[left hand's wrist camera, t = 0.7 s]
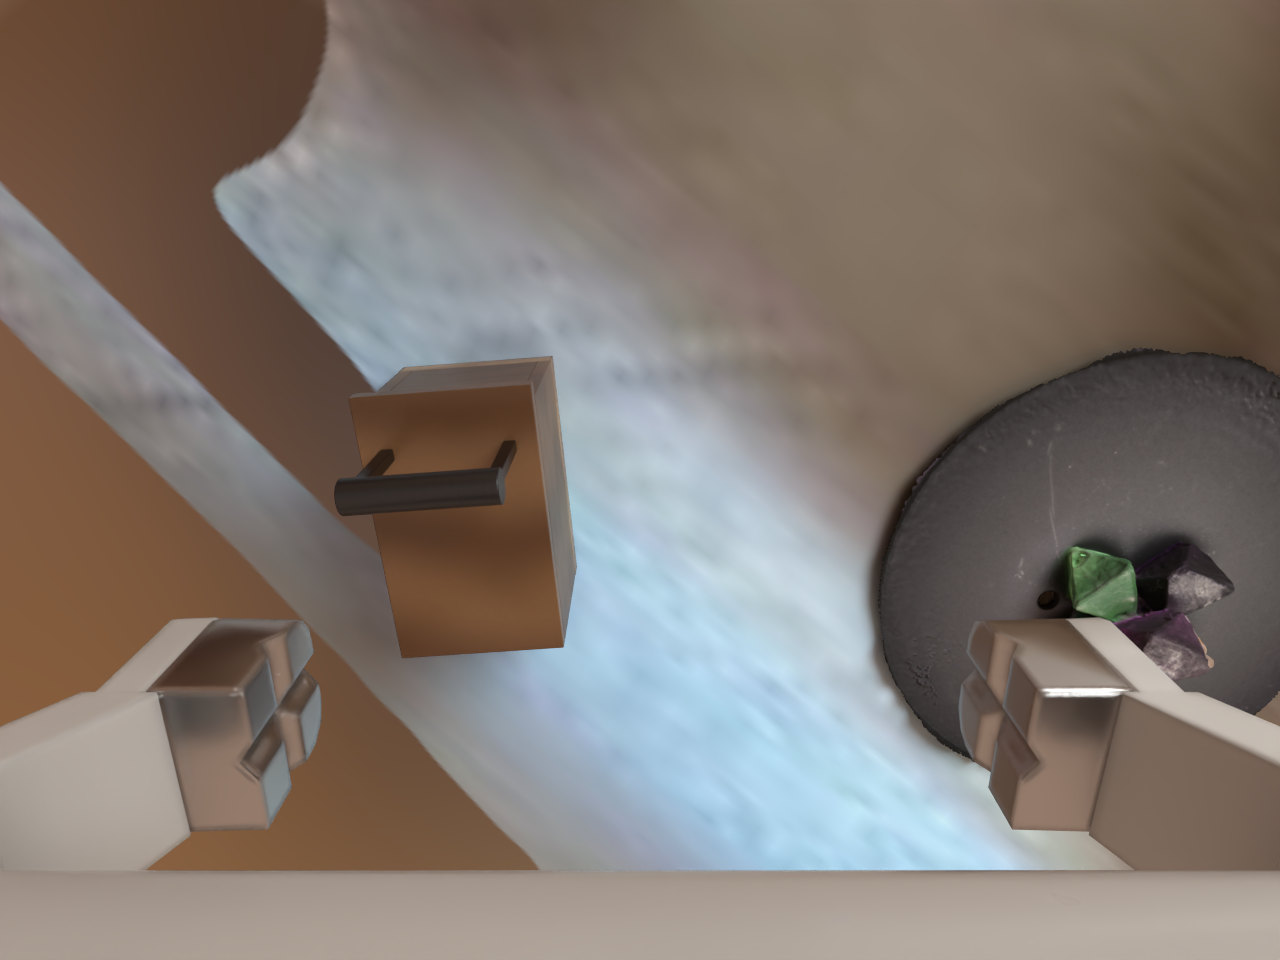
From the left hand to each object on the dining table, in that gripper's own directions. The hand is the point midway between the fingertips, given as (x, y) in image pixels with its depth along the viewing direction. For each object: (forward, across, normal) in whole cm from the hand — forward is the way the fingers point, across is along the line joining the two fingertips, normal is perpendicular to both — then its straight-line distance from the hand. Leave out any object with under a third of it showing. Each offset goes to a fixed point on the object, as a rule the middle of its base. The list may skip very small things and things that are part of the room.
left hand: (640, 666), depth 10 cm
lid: (+36, +10, +14) cm, 40 cm away
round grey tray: (+46, -34, +23) cm, 61 cm away
